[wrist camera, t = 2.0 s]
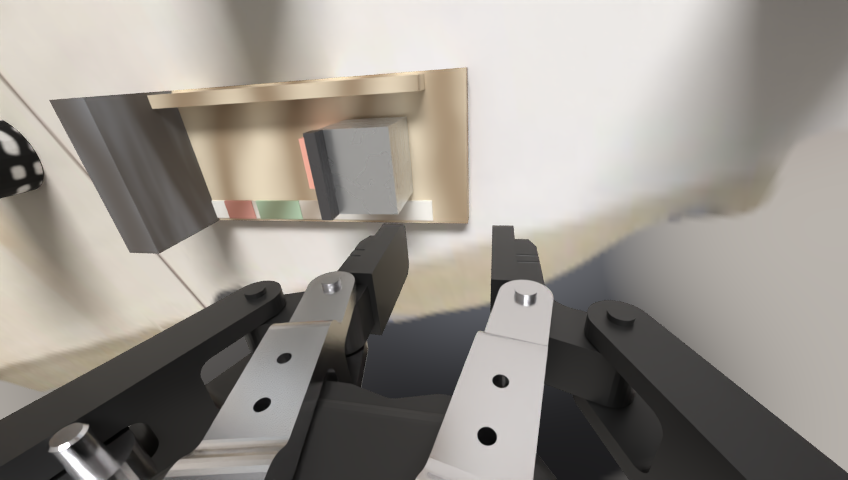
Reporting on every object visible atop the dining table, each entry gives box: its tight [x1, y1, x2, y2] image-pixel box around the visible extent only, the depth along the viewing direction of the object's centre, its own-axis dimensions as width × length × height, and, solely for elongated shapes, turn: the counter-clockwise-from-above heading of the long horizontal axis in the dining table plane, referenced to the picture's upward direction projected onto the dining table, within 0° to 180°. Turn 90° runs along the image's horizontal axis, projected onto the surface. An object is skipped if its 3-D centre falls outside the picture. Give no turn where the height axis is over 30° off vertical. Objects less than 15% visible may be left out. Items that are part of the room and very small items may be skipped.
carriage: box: [303, 116, 413, 220], centre depth 25 cm, size 5×6×6 cm
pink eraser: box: [298, 137, 315, 189], centre depth 27 cm, size 2×4×2 cm, turn 4°
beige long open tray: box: [49, 68, 469, 254], centre depth 27 cm, size 28×12×8 cm, turn 94°
